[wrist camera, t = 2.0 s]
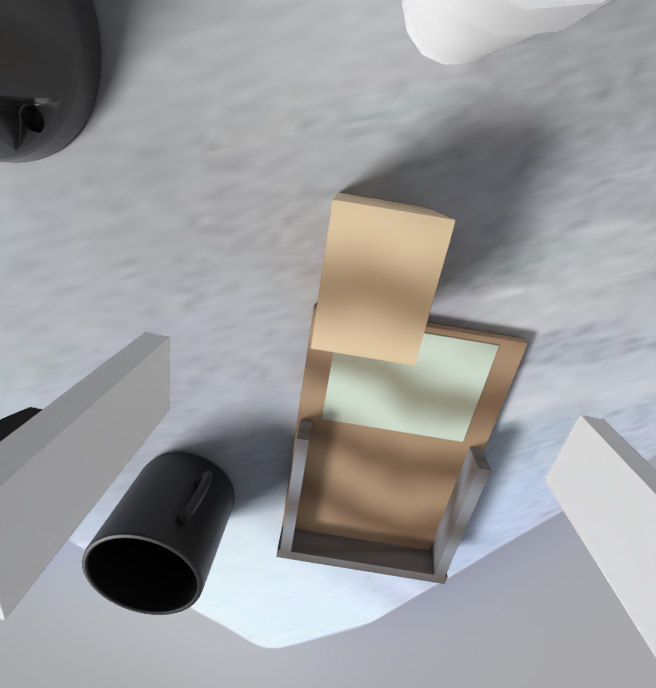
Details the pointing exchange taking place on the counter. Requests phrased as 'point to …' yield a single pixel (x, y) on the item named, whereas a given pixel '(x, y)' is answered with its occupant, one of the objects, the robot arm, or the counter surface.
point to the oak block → (379, 277)
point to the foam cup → (486, 24)
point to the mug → (161, 536)
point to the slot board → (394, 452)
